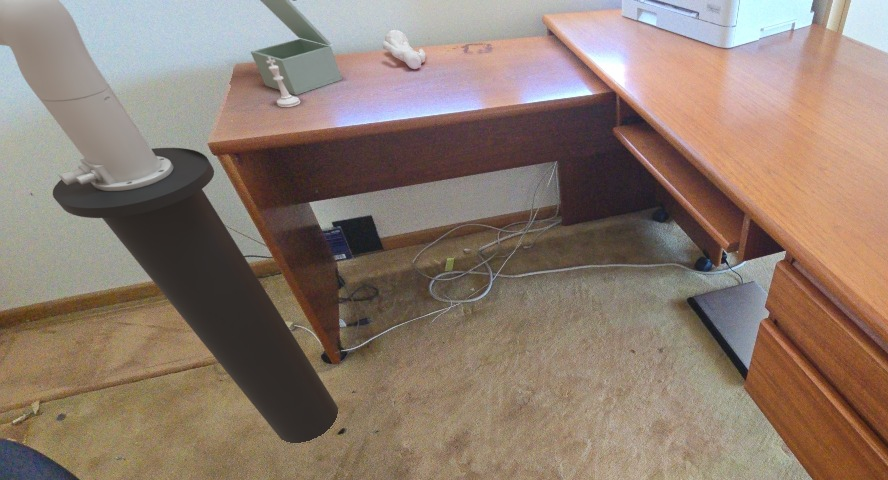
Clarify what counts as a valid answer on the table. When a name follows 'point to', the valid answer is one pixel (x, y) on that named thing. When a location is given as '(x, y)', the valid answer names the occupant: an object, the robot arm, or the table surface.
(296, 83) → the gray-green box
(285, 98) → the chess piece
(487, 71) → the table surface
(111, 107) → the robot arm
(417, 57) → the figure
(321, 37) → the lid
